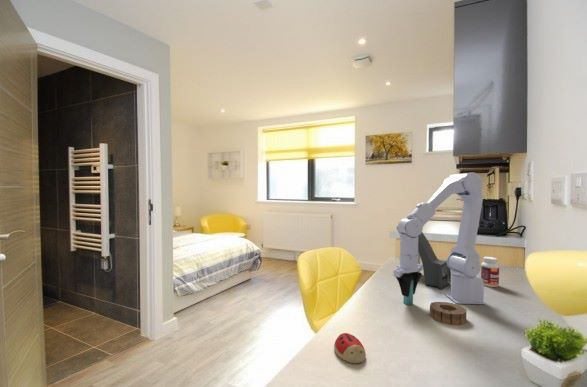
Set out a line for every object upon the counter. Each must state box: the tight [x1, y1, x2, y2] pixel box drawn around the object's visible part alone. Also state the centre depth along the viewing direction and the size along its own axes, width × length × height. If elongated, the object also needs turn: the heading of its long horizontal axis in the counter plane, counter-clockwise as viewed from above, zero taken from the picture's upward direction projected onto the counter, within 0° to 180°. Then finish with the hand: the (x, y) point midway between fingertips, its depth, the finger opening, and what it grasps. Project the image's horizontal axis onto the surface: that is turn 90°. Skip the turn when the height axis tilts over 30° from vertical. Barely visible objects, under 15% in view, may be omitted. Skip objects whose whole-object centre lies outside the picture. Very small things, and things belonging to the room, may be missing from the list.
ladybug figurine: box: [333, 332, 367, 364], centre depth 71 cm, size 7×10×4 cm
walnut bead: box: [429, 301, 467, 326], centre depth 91 cm, size 10×10×3 cm
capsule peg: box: [402, 280, 414, 306], centre depth 102 cm, size 3×3×8 cm
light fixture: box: [418, 232, 451, 290], centre depth 126 cm, size 11×17×24 cm, turn 45°
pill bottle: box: [480, 256, 500, 288], centre depth 123 cm, size 6×6×11 cm
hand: (408, 294), depth 102 cm, fingers closed on capsule peg, 3 cm apart
